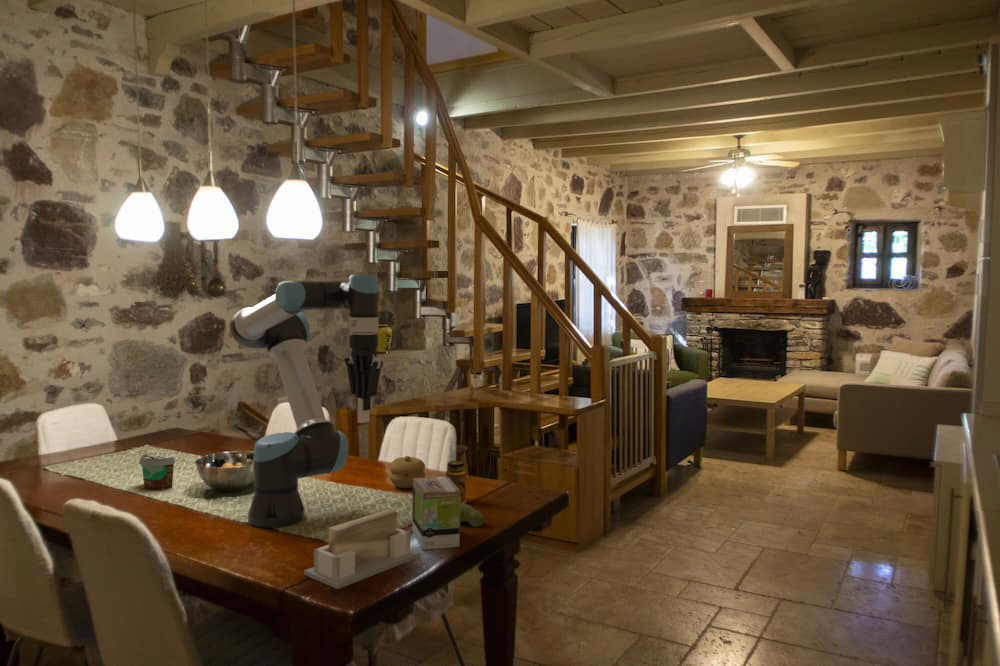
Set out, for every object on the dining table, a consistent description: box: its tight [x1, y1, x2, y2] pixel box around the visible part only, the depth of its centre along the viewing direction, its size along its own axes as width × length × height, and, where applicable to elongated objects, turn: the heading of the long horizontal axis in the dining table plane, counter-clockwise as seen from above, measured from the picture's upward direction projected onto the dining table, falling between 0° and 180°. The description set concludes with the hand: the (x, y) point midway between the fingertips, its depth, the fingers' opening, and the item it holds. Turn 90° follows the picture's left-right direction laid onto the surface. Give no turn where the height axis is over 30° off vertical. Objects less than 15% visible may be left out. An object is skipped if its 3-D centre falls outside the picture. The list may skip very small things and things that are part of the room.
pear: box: [460, 503, 486, 528], centre depth 206 cm, size 6×5×10 cm
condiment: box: [445, 460, 467, 503], centre depth 226 cm, size 7×8×12 cm
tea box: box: [411, 476, 461, 551], centre depth 193 cm, size 15×10×15 cm
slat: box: [328, 508, 398, 568], centre depth 175 cm, size 3×18×10 cm, turn 141°
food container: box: [138, 453, 176, 491], centre depth 236 cm, size 12×6×10 cm, turn 68°
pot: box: [388, 455, 426, 489], centre depth 242 cm, size 12×12×10 cm
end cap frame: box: [303, 527, 421, 590], centre depth 175 cm, size 12×25×6 cm, turn 141°
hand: (363, 422), depth 197 cm, fingers closed
